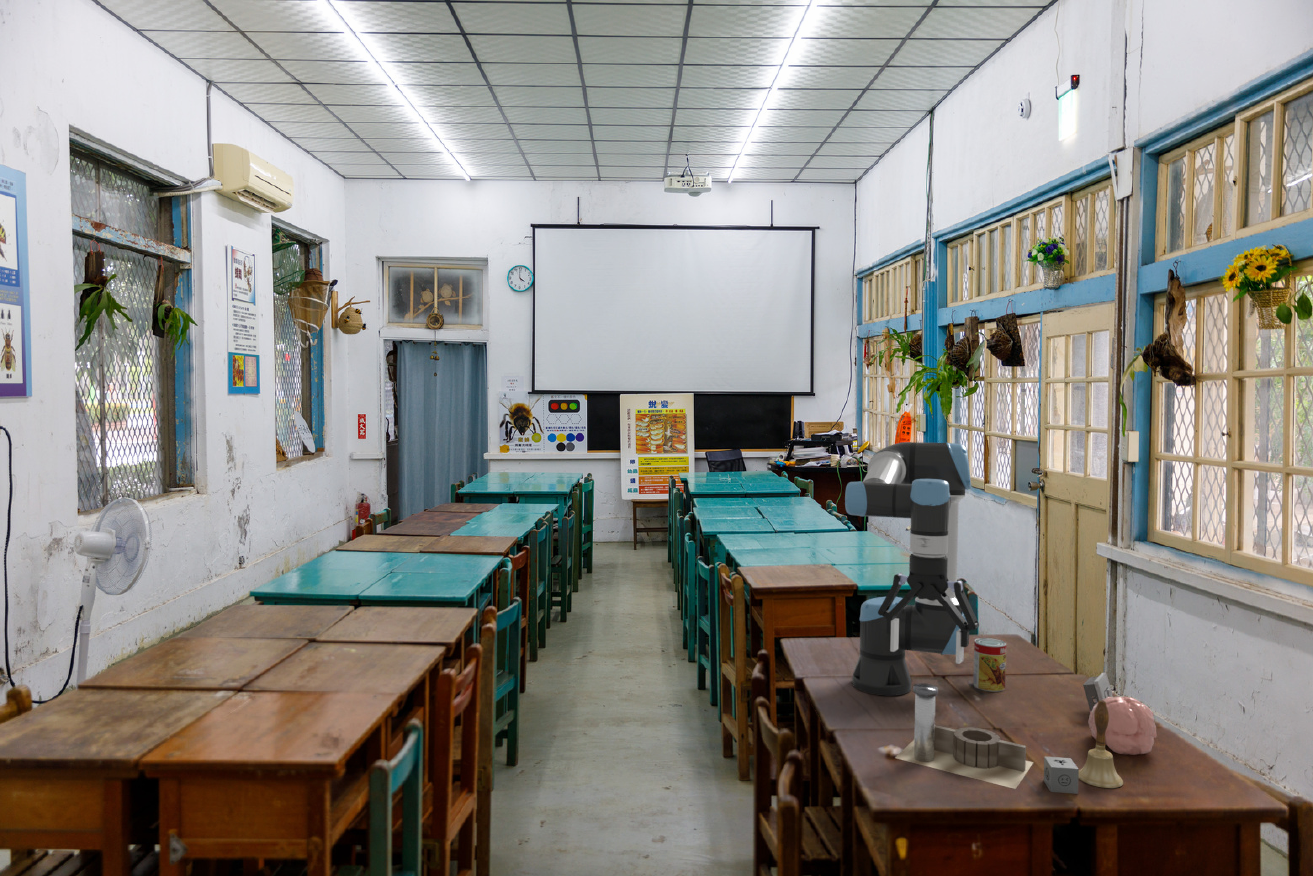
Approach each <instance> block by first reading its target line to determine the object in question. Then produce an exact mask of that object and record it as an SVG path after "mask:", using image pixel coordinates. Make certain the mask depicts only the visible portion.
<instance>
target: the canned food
mask: <svg viewBox="0 0 1313 876" xmlns="http://www.w3.org/2000/svg"><path fill="white" fill-rule="evenodd" d="M973 643H974V645H973V646H974V648H973V650H974V651H973V678H972V679H973V686H974V688H976V689H978V690H981V691H985V692H994V693H996V692H997V693H999V692H1003V691H1004V690H1006V676H1007V674H1006V672H1007V671H1006V669H1007V642H1005V641H1004V640H1002V639H999V638H991V637H979V638H975V639H974V641H973Z"/></svg>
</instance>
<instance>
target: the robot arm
mask: <svg viewBox="0 0 1313 876" xmlns="http://www.w3.org/2000/svg"><path fill="white" fill-rule="evenodd" d="M968 456H969V455H968V449H967V447H966V446H965V445H964V444H963V443H962V444H961V443H952V442H922V441H921V442H919V441H918V442H913V441H905V442H903V441H902V442H898V443H895V444H891V445H889V446H886V447H883V448H882V449H880V450H878V451H876V453H874V454H873V455H872V457H871V458H870V459H869V461H868V463H867V473H866V475H865V477H864V478H863V481H861V480H860V481H850V482H848V483H847V485H846V487H845V493H844V494H845V497H844V501H845V502H844V505H845V511H846V513H847V514H848V515H850V516H859V517H863V518H864V517H873V518H875V517H877V518H894V519H898V518H899V519H910V531H909V535H910V536H909V551H910V552H911V554H910V555H909V562H908V563H909V564H908V565H909V567H908V569H909V570H908V571H909V574H908V575H906V574H904V573H902V572H898V573H896V574H895V575H894V576H893V578H892V579H893V581H892V585H891V587H890V589H889V590H888V592H887V594H886V596H880V597H874V598H870V599H867V600H865V601H863V603H862V604H861V606H860V615H859V621H860V622H859V624H860V625H859V656H858V659H857V661H856V665H855V667H854V671H853V672H852V677H851V681H852V682H851V684H852V686H853V687H854V688H855V689H856V690H859V691H860V692H863V693H866V694H871V695H877V696H889V697H890V696H891V697H892V696H901V695H905V694H907V693H910V692H911V691H912V678H911V675H910V674H911V673H910V672H909V668H908V665H907V662H906V651H911V652H922V653H931V654H939V655H941V656H943V655H953V656H955V664H958V665H960V664H962V663H963V662H964V658H965V656H964V654H965V652H964V650H965V648H968V646H969V644H970V631H975V630H976V629H978V628H979V627H980V623H979V621H978V618H977V617H976V615H975V612H974V610H973V608H972V606H971V603H970V601H969V599H968V597H967V594H966V592H965V587H964V585H965V584H964V581H962V580H959V579H958V578H957V577H958V576H957V575H958V543H959V542H958V539H959V536H958V535H959V505H960V504H959V503H960V502H961V500H963V499H964V498H965V497H966V491H968V490H970V489H972V482H971V481H972V480H971V473H970V471H971V470H970V463H969V457H968ZM957 579H958V581H957ZM905 583H907V584H908V587H910V590H909V591H908V592H907V593H906V594H905V596H904V597H898V594H899V592H900V590H901V588H902V586H903V585H905ZM914 598H915V599H914ZM913 599H914V605H913V604H912V605H911V604H909V603H910V602H911V601H912V600H913Z"/></svg>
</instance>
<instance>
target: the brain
mask: <svg viewBox="0 0 1313 876" xmlns="http://www.w3.org/2000/svg"><path fill="white" fill-rule="evenodd" d="M1103 701H1105V702H1106V706H1107V709H1108V713H1109V722H1108V726H1107V729H1106V732H1105V746H1107V747H1108V748H1109V749H1110V750H1112V752H1113V753H1117V754H1119V755H1130V756H1136V755H1144V754H1148V753H1150V752H1151V751H1152V749H1153V748H1152V747H1153V746H1154V743H1155V738H1157V737H1158V734H1157V726H1156V723H1155V719H1154V717H1155V714H1154V712H1153V711H1152V710H1151V708H1150V707H1149V706H1147V705H1146V704H1145V703H1142V702H1141V701H1139V700H1138V699H1136V698H1134V697H1132V696H1129V697H1128V696H1126V695H1125V696H1124V695H1123V696H1113V697H1107V698H1105V699H1103ZM1097 705H1098V703H1097V704H1095V706H1094V707H1093V709H1092V711H1091V712H1090V711H1089V716H1088V717H1089V718H1088V726H1089V729H1090V730H1091V736H1092V738H1094V739H1095V740H1096V737H1097V729H1096V725H1095V719H1094V715H1095V709H1096V707H1097Z"/></svg>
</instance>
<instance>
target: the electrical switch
mask: <svg viewBox="0 0 1313 876" xmlns="http://www.w3.org/2000/svg"><path fill="white" fill-rule="evenodd" d="M1109 681H1110V680H1109V677H1108V675H1107V673H1106V672H1101V673H1100V675H1097V676H1090V677H1088V678H1087V680H1086V681H1085V682H1084V683H1083V686H1082V687H1083V690H1084V694H1085V697H1086V701H1087V705H1088V709H1089V713H1090V712H1091V711H1092V709H1093V707H1094V706H1095V705H1096V704H1097V703H1098V701H1099V700H1103V699H1105V698H1107V697H1114V696H1113V691H1112V688H1111V684H1110V682H1109Z"/></svg>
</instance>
